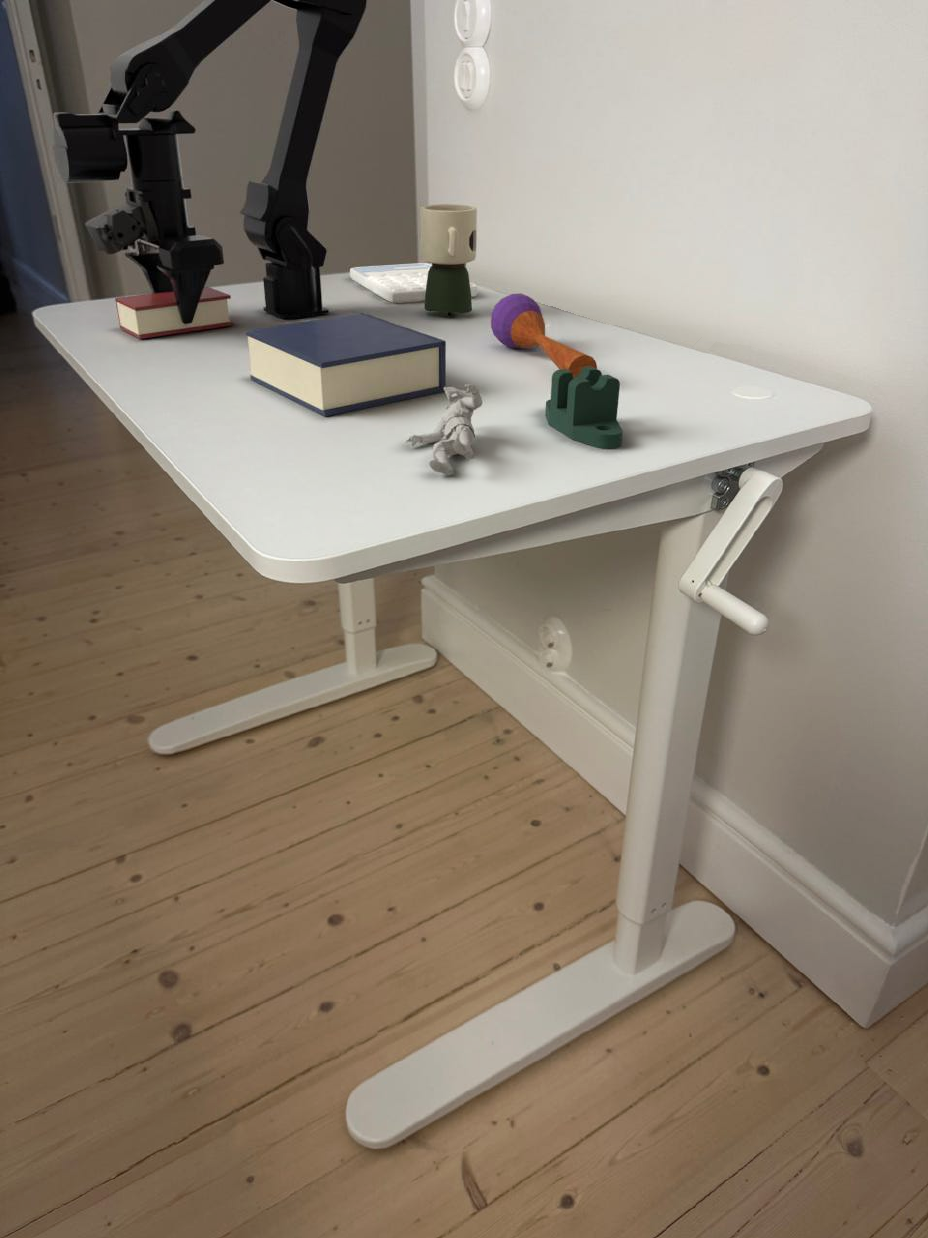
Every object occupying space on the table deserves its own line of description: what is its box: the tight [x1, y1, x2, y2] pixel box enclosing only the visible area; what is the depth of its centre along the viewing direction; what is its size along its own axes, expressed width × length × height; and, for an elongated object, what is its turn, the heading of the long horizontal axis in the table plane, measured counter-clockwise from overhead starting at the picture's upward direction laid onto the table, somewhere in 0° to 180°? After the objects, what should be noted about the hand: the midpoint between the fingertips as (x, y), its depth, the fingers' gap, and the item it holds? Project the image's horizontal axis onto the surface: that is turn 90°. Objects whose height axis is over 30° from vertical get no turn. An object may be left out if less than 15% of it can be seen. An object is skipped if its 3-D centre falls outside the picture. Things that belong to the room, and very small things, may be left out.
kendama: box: [490, 293, 598, 378], centre depth 104 cm, size 6×6×20 cm
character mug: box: [419, 203, 478, 317], centre depth 122 cm, size 11×7×13 cm, turn 8°
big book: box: [245, 312, 447, 417], centre depth 96 cm, size 14×15×5 cm
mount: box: [544, 366, 624, 450], centre depth 85 cm, size 11×4×5 cm, turn 24°
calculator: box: [349, 262, 479, 304], centre depth 140 cm, size 13×20×2 cm, turn 23°
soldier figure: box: [405, 383, 483, 476], centre depth 80 cm, size 8×5×12 cm
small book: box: [114, 286, 235, 340], centre depth 116 cm, size 12×6×4 cm, turn 128°
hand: (176, 318), depth 117 cm, fingers closed on small book, 6 cm apart
